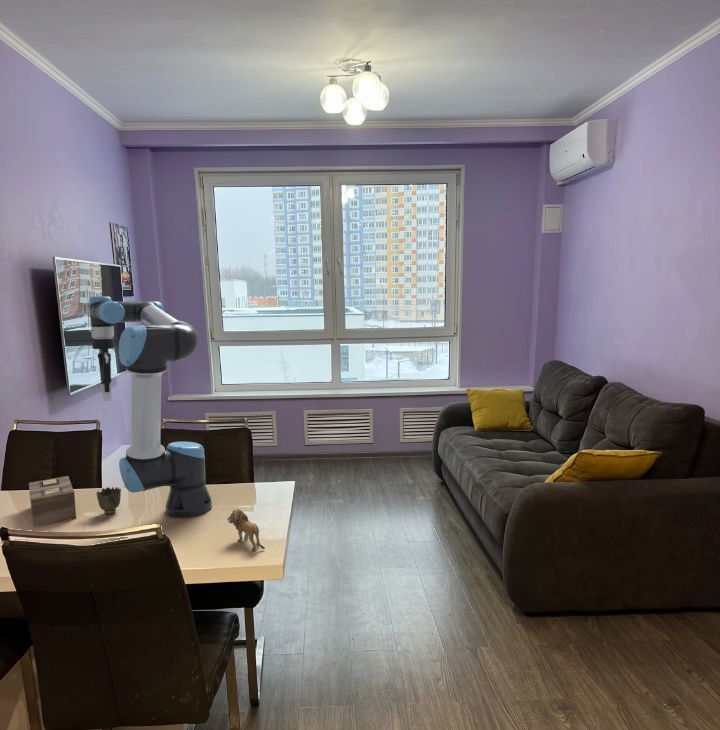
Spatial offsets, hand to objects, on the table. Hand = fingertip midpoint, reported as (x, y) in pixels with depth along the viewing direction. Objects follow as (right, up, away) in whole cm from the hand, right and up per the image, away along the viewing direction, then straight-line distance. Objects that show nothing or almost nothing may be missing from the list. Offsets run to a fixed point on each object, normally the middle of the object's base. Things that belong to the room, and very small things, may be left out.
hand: (107, 400), depth 195 cm
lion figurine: (+62, -39, -43) cm, 85 cm away
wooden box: (-9, -37, -19) cm, 43 cm away
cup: (+11, -37, -20) cm, 44 cm away
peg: (-12, -35, -15) cm, 40 cm away
